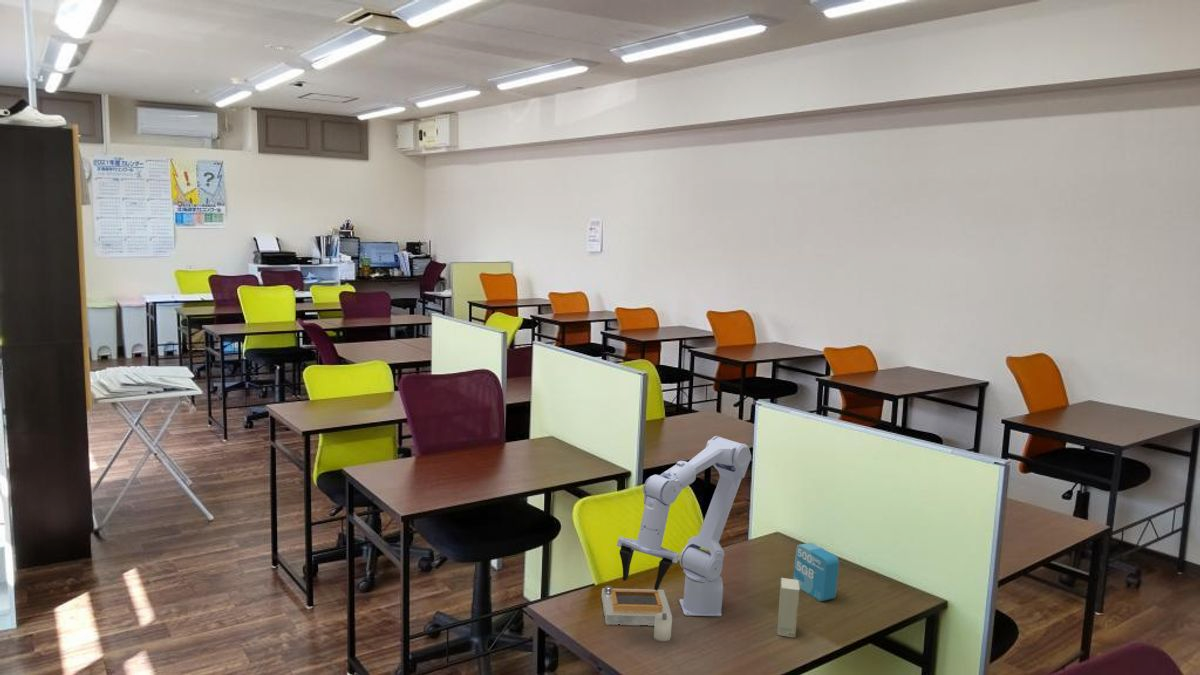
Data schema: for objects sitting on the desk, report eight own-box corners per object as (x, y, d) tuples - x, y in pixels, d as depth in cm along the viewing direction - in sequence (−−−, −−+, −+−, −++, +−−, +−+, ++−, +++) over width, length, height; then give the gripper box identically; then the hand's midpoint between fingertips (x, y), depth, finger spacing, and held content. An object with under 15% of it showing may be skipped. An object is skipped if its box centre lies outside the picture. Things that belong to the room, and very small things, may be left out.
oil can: (669, 632, 193) (671, 608, 192) (671, 641, 189) (673, 616, 188) (652, 632, 192) (654, 607, 191) (654, 641, 188) (656, 616, 187)
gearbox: (663, 598, 209) (664, 586, 209) (671, 626, 196) (672, 612, 195) (601, 597, 208) (602, 584, 208) (605, 624, 194) (606, 611, 194)
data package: (792, 584, 223) (796, 542, 221) (804, 581, 225) (809, 540, 223) (822, 603, 212) (827, 560, 210) (835, 600, 214) (840, 557, 213)
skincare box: (795, 638, 193) (800, 590, 191) (776, 635, 194) (781, 588, 192) (794, 625, 199) (799, 579, 198) (776, 623, 200) (780, 576, 198)
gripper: (618, 521, 186) (606, 579, 186) (679, 539, 182) (667, 597, 182) (626, 517, 193) (614, 572, 193) (685, 533, 189) (673, 590, 189)
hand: (640, 584), depth 188 cm, fingers open, 7 cm apart
